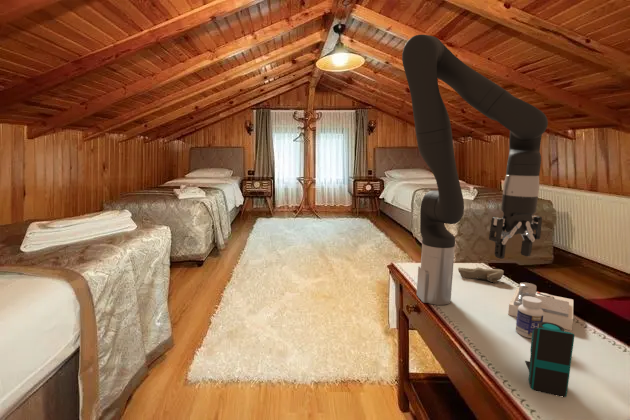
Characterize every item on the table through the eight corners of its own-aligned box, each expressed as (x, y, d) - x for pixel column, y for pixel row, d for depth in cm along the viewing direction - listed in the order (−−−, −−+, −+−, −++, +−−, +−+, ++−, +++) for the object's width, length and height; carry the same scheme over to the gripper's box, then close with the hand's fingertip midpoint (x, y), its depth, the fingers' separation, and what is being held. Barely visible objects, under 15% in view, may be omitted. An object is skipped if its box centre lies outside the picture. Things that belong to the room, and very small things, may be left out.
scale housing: (571, 330, 84) (573, 317, 83) (508, 314, 92) (509, 302, 92) (572, 309, 96) (573, 298, 96) (516, 297, 105) (517, 286, 104)
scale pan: (568, 317, 84) (568, 314, 84) (513, 304, 92) (513, 301, 91) (568, 304, 92) (569, 301, 92) (518, 293, 99) (518, 291, 99)
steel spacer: (524, 301, 92) (525, 287, 91) (515, 295, 96) (516, 282, 95) (538, 301, 92) (540, 287, 91) (528, 295, 96) (530, 282, 95)
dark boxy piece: (558, 311, 67) (576, 334, 57) (551, 366, 68) (567, 398, 59) (525, 306, 69) (537, 328, 59) (519, 360, 70) (530, 390, 61)
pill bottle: (532, 341, 78) (536, 305, 77) (510, 331, 83) (514, 297, 82) (545, 336, 81) (549, 301, 80) (523, 326, 85) (527, 293, 84)
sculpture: (457, 281, 121) (505, 285, 115) (457, 268, 120) (505, 271, 114) (458, 277, 127) (503, 280, 121) (458, 264, 127) (503, 267, 121)
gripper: (510, 196, 77) (503, 263, 79) (556, 194, 81) (547, 259, 84) (485, 192, 84) (479, 254, 86) (528, 191, 88) (521, 250, 91)
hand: (512, 256), depth 85 cm, fingers open, 8 cm apart
